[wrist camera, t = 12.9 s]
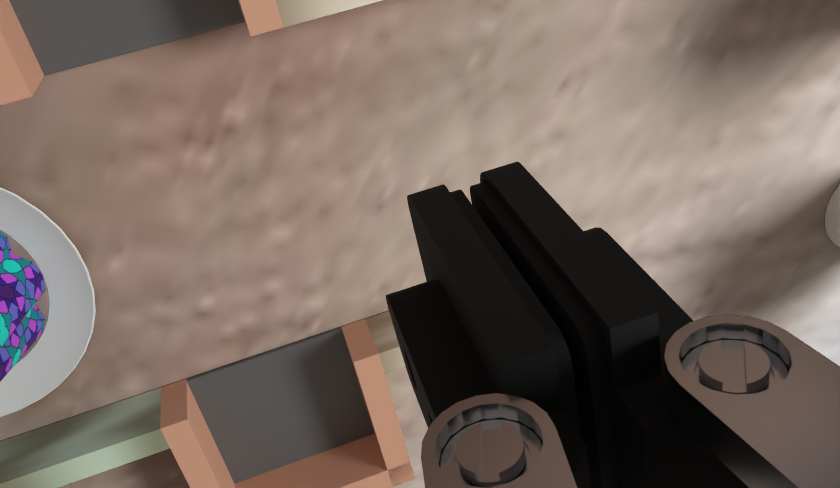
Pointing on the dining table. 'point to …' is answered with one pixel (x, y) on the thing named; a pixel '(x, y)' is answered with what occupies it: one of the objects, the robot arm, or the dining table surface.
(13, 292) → the pudding
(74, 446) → the track
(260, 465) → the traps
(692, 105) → the dining table surface
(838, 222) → the dixie cup
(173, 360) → the dining table surface
